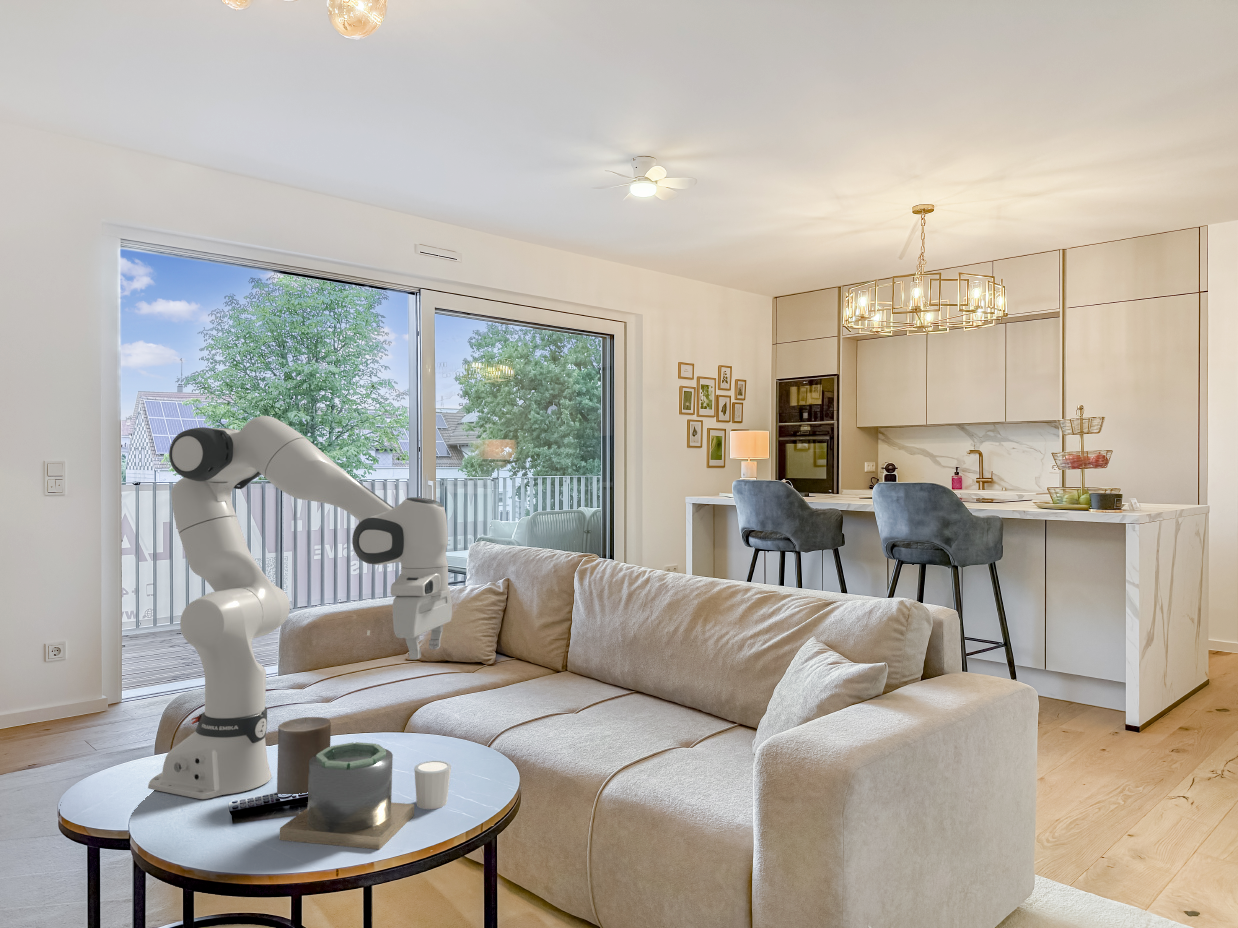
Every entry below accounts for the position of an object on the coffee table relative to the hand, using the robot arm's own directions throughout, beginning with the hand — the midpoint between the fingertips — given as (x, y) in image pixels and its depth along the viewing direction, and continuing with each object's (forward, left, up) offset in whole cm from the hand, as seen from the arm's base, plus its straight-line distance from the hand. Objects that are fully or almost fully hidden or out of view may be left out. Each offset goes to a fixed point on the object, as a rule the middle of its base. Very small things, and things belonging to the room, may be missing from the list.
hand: (425, 653), depth 153 cm
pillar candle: (-24, -1, -28) cm, 37 cm away
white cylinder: (+2, 0, -28) cm, 28 cm away
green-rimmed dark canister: (-8, -13, -28) cm, 32 cm away
